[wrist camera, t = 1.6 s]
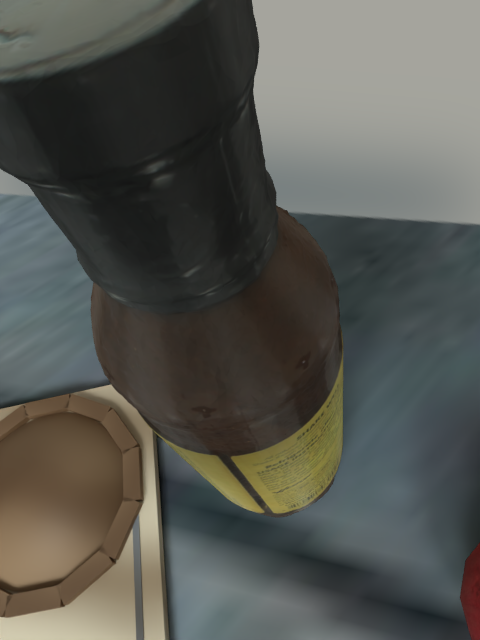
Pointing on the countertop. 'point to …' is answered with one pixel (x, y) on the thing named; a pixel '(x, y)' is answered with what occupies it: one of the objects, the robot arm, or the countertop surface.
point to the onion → (472, 593)
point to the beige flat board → (80, 521)
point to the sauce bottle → (181, 233)
